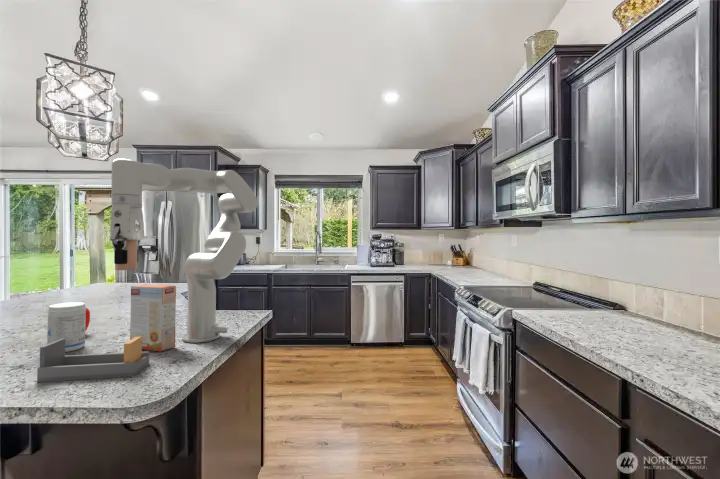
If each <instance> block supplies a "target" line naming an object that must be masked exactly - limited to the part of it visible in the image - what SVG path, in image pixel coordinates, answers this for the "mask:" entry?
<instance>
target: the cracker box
mask: <svg viewBox="0 0 720 479" xmlns="http://www.w3.org/2000/svg"><path fill="white" fill-rule="evenodd" d="M130 286H131V287H130V316H129V317H130V318H129V319H130V321H129V322H130V324H129V325H130V328H129V329H130V330H129V331H130V332H129V341H130V340H131V339H133V338H135V337H141V336H142V350H146V351H153V352H159V353H160V352H164V351H167V350H170V349H173V348H176V320H177V319H176V315H177V312H176V310H177V308H176V305H177V292H176V291H177V285H167V284H147V283H144V284H143V283H141V284H136V285H130Z"/></svg>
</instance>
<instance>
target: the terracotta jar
mask: <svg viewBox="0 0 720 479" xmlns="http://www.w3.org/2000/svg"><path fill="white" fill-rule="evenodd" d="M118 239H124V237H118ZM121 243H122V244H123V242H121ZM126 250H127V264H115V263H114V270H115V271H132V270H135V271H136V270H138V262H137V239H136V240H127V246H126Z"/></svg>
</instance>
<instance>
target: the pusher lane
mask: <svg viewBox="0 0 720 479" xmlns="http://www.w3.org/2000/svg"><path fill="white" fill-rule="evenodd" d="M149 364H150V351H142V358H141V359H140V360H138V361H137V362H136V363H135V362H124V352H115V353H114V352H113V353H112V352H111V353H93V354H76V355H75V354H74V355H73V354H69V355H66V352H65V338H64V339H59V340H57V341H54V342H52V343H49V344H45V345H43V346H40V347H39V367H37V368H36V369H37V370H36V371H37V372H36V373H37V374H36V380H37V381H36V382H37V383H42V382H43V383H47V381H48V382H62V381H73V380H74V381H78V380H79V381H80V380H92V379H94V380H96V379H110V378H125V377H126V378H127V377H129V378H130V377H135V376H136V375H137V374H138V373H139V372H141V371H142V370H143V369H144V368H146V367H147V366H148V365H149Z"/></svg>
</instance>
